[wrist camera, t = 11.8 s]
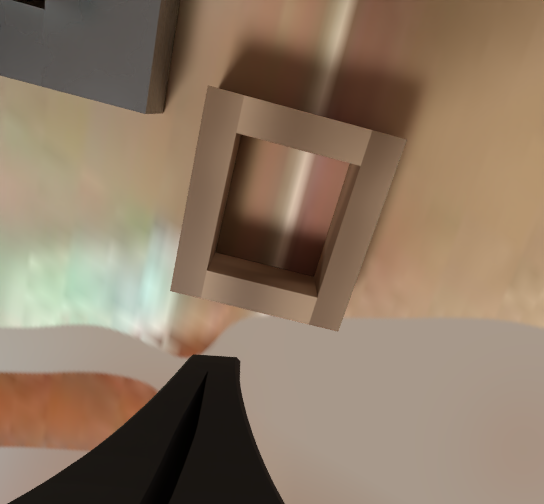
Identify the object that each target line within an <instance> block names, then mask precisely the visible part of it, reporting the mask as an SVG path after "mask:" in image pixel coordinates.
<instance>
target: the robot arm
mask: <svg viewBox="0 0 544 504" xmlns="http://www.w3.org/2000/svg"><path fill="white" fill-rule="evenodd" d="M8 504H284V502H283V500H282V498H281V496H280V494H279V492H278V491H277V489H276V487H275V485H274V483H273V481H272V479H271V477H270V475H269V473H268V470H267V468H266V466H265V464H264V462H263V459H262V457H261V455H260V452H259V450H258V447H257V445H256V442H255V439H254V436H253V434H252V430H251V427H250V424H249V421H248V418H247V414H246V410H245V407H244V402H243V398H242V393H241V388H240V361H239V359H238V358H237V357H222V356H208V355H192V356H191V357H190V358H189V359H188V360H187V361H186V362H185V364H184V365H183V366H182V367H181V368H180V369H179V370H178V372H177V373H176V374H175V375H174V376H173V377H172V378H171V379H170V380H169V381H168V382H167V384H166V385H165V386H164V387H163V388H162V389H161V390H160V391H159V392H158V393H157V394H156V395H155V396H154V397H153V398H152V399H151V400H150V401H149V402H148V403H147V404H146V405H145V406H144V407H142V408H141V409H140V410H139V411H138V412H137V413H136V414H135V415H134V416H133V417H132V418H130V419H129V420H128V421H127V422H126V423H125V424H124V425H123V426H121V427H120V428H119V429H118V430H117V431H116V432H114V433H113V434H112V435H111V436H109V437H108V438H107V439H106V440H104V441H103V442H102V443H101V444H99V445H98V446H97V447H95V448H94V449H93V450H91V451H90V452H89V453H87V454H86V455H85V456H83V457H82V458H80V459H79V460H77V461H76V462H74V463H73V464H71V465H70V466H68V467H67V468H65V469H64V470H62V471H61V472H59V473H58V474H57V475H55V476H53V477H52V478H50V479H49V480H47V481H46V482H44V483H42V484H41V485H39V486H37V487H36V488H34V489H32V490H31V491H29V492H27V493H26V494H24V495H22V496H20V497H19V498H17V499H15V500H13V501H11V502H10V503H8Z"/></svg>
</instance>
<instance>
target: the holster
mask: <svg viewBox="0 0 544 504" xmlns="http://www.w3.org/2000/svg"><path fill="white" fill-rule="evenodd" d="M241 134H242V135H246V136H250V137H253V138H257V139H261V140H265V141H268V142H272V143H276V144H280V145H283V146H287V147H291V148H295V149H299V150H302V151H306V152H310V153H314V154H317V155H321V156H325V157H329V158H332V159H336V160H340V161H344V162H347V163H350V165H349V168H348V171H347V174H346V178H345V181H344V184H343V187H342V190H341V193H340V196H339V200H338V203H337V206H336V209H335V212H334V215H333V218H332V222H331V225H330V228H329V231H328V234H327V237H326V240H325V244H324V247H323V250H322V253H321V256H320V259H319V262H318V266H317V269H316V272H315V275H314V277H312V276H308V275H304V274H300V273H296V272H292V271H288V270H284V269H280V268H276V267H272V266H268V265H264V264H260V263H256V262H252V261H248V260H244V259H240V258H236V257H232V256H228V255H224V254H220V253H216V248H217V244H218V239H219V235H220V230H221V225H222V221H223V216H224V212H225V207H226V203H227V198H228V193H229V189H230V184H231V180H232V175H233V171H234V166H235V162H236V157H237V152H238V148H239V143H240V139H241ZM406 141H407V139H403V138H400V137H396V136H392V135H388V134H385V133H381V132H377V131H374V130H370V129H366V128H363V127H359V126H355V125H352V124H348V123H344V122H341V121H337V120H333V119H330V118H326V117H322V116H319V115H315V114H311V113H308V112H304V111H300V110H297V109H293V108H289V107H285V106H282V105H278V104H274V103H271V102H267V101H263V100H260V99H256V98H252V97H249V96H245V95H241V94H238V93H234V92H230V91H227V90H223V89H219V88H216V87H212V86H208V88H207V93H206V99H205V104H204V110H203V115H202V121H201V126H200V131H199V137H198V142H197V148H196V153H195V159H194V164H193V170H192V175H191V181H190V186H189V191H188V197H187V202H186V208H185V213H184V219H183V224H182V230H181V235H180V241H179V246H178V251H177V257H176V262H175V268H174V273H173V279H172V284H171V290H170V291H172V292H177V293H181V294H185V295H189V296H193V297H197V298H201V299H206V300H210V301H214V302H218V303H222V304H226V305H230V306H235V307H239V308H243V309H247V310H251V311H255V312H259V313H264V314H268V315H272V316H276V317H280V318H284V319H288V320H293V321H297V322H301V323H305V324H309V325H313V326H317V327H322V328H326V329H330V330H334V331H338V330H339V328H340V325H341V322H342V319H343V317H344V314H345V311H346V308H347V305H348V303H349V300H350V297H351V294H352V291H353V289H354V286H355V283H356V280H357V278H358V275H359V272H360V269H361V266H362V264H363V261H364V258H365V255H366V253H367V250H368V247H369V244H370V241H371V239H372V236H373V233H374V230H375V228H376V225H377V222H378V219H379V216H380V214H381V211H382V208H383V205H384V203H385V200H386V197H387V194H388V191H389V189H390V186H391V183H392V180H393V178H394V175H395V172H396V169H397V166H398V164H399V161H400V158H401V155H402V153H403V150H404V147H405V144H406Z"/></svg>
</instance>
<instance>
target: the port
mask: <svg viewBox="0 0 544 504" xmlns="http://www.w3.org/2000/svg"><path fill="white" fill-rule="evenodd" d="M179 4H180V0H45V9H42V8H38V7H35V6H31V5H27V4H24V3H20V2H16V1H13V0H0V75H1V76H4V77H8V78H12V79H16V80H20V81H23V82H27V83H31V84H35V85H38V86H42V87H46V88H50V89H53V90H57V91H61V92H65V93H68V94H72V95H76V96H80V97H84V98H87V99H91V100H95V101H99V102H102V103H106V104H110V105H114V106H117V107H121V108H125V109H129V110H133V111H136V112H140V113H144V114H156V113H163V110H164V103H165V97H166V90H167V83H168V77H169V70H170V63H171V57H172V50H173V43H174V37H175V30H176V24H177V17H178V10H179Z"/></svg>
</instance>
